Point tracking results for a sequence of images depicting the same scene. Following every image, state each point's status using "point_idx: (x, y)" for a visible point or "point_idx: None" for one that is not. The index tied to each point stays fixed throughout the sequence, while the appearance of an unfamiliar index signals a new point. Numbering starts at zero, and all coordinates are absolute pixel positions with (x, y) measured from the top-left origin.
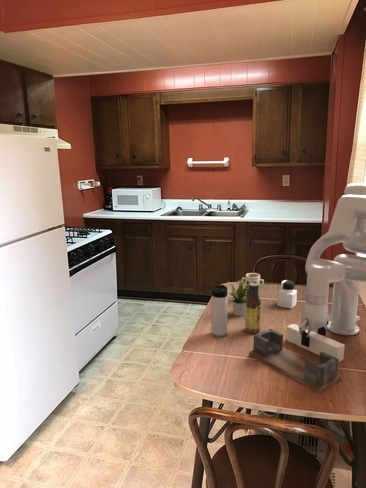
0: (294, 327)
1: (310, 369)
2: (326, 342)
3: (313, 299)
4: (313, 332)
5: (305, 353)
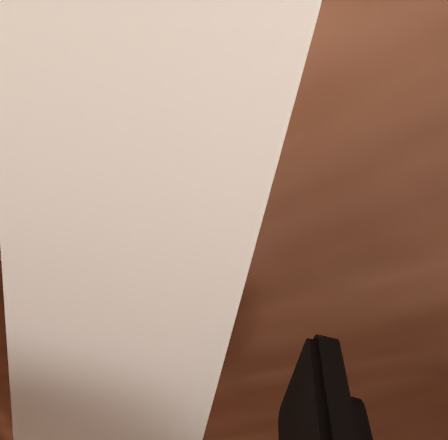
0: None
1: None
2: None
3: None
4: (191, 396)
5: None
